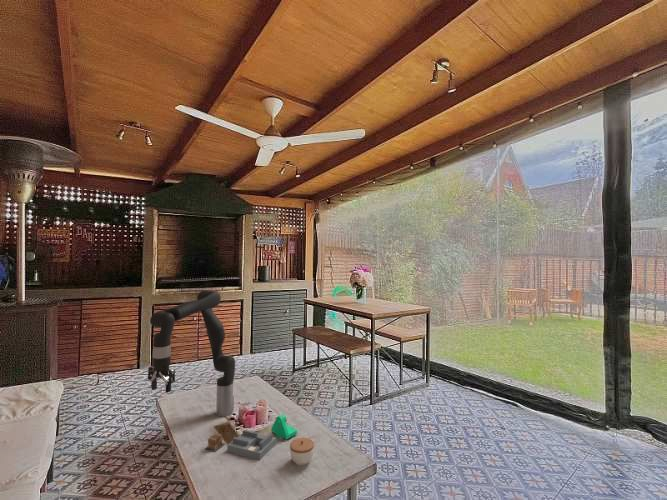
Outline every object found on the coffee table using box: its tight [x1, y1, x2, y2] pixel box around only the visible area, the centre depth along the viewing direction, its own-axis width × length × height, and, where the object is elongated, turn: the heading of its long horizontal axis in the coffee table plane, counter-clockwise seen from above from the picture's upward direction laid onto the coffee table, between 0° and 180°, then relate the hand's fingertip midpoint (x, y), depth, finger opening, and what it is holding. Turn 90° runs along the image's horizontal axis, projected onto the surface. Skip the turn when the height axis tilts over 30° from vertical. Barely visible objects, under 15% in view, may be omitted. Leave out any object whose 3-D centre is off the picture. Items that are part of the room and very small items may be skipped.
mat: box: [204, 442, 226, 453], centre depth 159 cm, size 7×6×1 cm
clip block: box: [207, 432, 223, 450], centre depth 159 cm, size 5×4×4 cm
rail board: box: [226, 429, 277, 460], centre depth 159 cm, size 14×18×6 cm
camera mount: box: [270, 413, 298, 440], centre depth 172 cm, size 12×8×10 cm, turn 49°
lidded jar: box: [289, 437, 315, 467], centre depth 148 cm, size 11×11×9 cm
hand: (161, 390), depth 153 cm, fingers open, 8 cm apart
